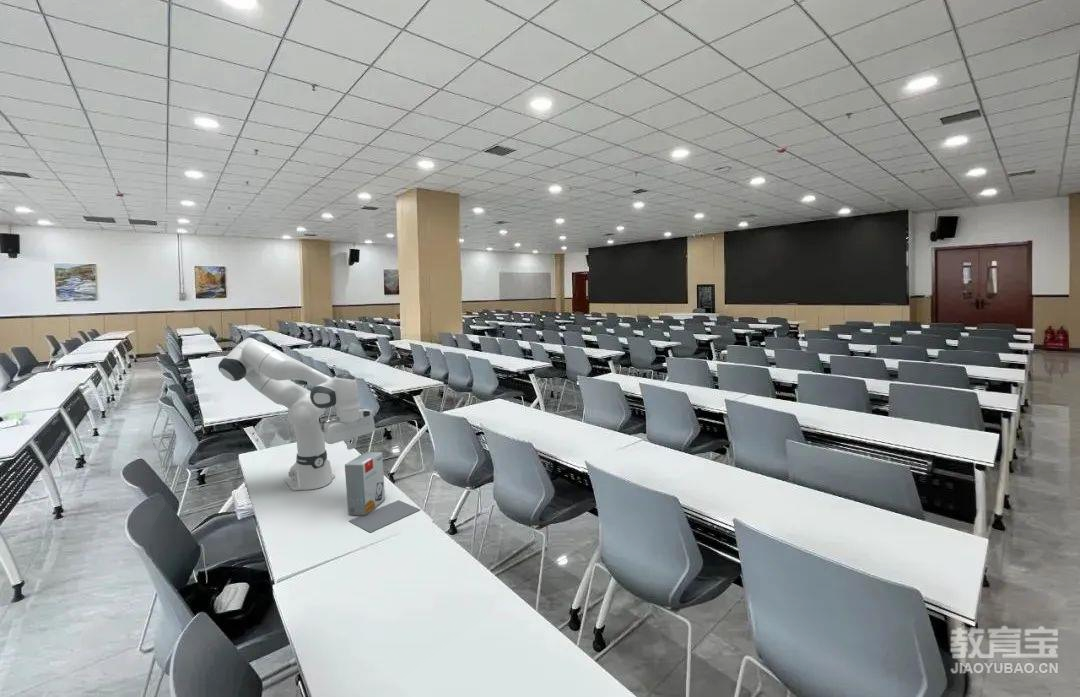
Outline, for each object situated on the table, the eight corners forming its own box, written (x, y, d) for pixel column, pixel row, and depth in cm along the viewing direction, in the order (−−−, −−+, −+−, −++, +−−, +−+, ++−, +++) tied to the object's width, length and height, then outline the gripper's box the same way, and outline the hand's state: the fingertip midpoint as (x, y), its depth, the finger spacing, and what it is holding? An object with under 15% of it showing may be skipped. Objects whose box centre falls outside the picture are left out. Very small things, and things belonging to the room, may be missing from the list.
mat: (348, 521, 188) (348, 520, 188) (398, 500, 205) (398, 500, 204) (370, 533, 179) (370, 532, 179) (420, 510, 196) (420, 509, 196)
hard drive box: (365, 516, 191) (361, 465, 188) (347, 515, 192) (342, 464, 190) (386, 499, 206) (382, 451, 203) (369, 498, 207) (365, 451, 205)
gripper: (327, 422, 190) (331, 457, 192) (375, 410, 205) (378, 443, 207) (319, 420, 194) (322, 454, 196) (366, 408, 209) (369, 440, 211)
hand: (351, 448), depth 202 cm, fingers closed
